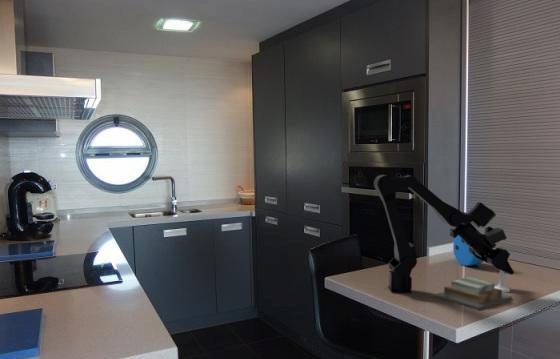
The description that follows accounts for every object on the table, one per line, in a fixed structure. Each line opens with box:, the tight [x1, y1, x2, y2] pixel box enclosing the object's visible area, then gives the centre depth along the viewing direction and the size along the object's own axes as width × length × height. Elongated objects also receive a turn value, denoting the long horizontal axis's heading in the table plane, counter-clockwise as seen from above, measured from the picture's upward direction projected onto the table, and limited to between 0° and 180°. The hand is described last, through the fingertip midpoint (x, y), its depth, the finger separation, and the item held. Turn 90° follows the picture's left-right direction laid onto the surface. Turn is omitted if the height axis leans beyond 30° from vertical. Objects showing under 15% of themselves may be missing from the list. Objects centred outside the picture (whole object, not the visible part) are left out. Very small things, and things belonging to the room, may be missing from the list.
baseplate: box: [433, 291, 512, 311], centre depth 138 cm, size 18×15×1 cm
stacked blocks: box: [443, 276, 503, 304], centre depth 138 cm, size 12×12×4 cm
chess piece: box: [494, 269, 511, 293], centre depth 145 cm, size 5×5×10 cm
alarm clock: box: [452, 236, 484, 268], centre depth 179 cm, size 13×6×15 cm, turn 15°
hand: (505, 269), depth 145 cm, fingers open, 9 cm apart
